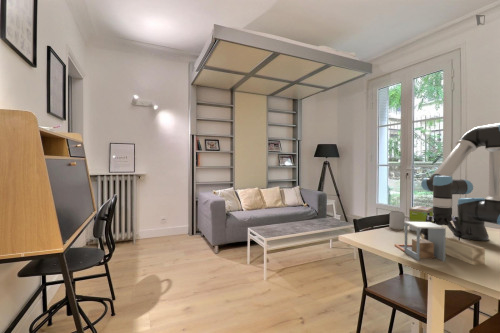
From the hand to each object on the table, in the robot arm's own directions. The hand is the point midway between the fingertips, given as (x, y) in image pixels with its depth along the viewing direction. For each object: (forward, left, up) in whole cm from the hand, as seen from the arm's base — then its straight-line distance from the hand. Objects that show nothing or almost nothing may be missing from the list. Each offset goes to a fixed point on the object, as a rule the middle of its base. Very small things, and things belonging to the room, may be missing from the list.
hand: (441, 249), depth 119 cm
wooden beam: (0, +5, 0) cm, 5 cm away
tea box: (-13, -37, 0) cm, 39 cm away
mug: (0, -39, 0) cm, 39 cm away
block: (+15, +10, 0) cm, 18 cm away
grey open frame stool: (+15, +7, 0) cm, 17 cm away
